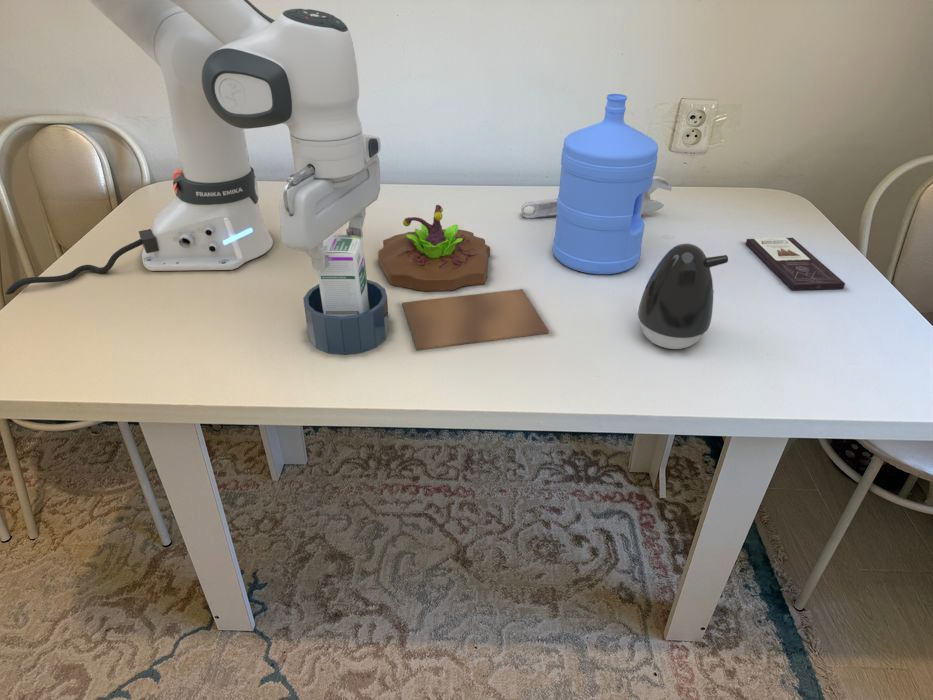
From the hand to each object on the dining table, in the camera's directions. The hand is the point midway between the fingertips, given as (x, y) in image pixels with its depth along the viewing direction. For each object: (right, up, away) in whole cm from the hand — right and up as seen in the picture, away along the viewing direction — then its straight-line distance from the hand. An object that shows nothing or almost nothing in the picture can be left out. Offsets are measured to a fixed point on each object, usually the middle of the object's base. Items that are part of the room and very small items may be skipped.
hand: (338, 253), depth 91 cm
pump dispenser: (+48, -12, +7) cm, 50 cm away
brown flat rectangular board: (+19, -8, +11) cm, 23 cm away
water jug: (+41, +4, +29) cm, 51 cm away
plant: (+12, +2, +26) cm, 29 cm away
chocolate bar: (+76, +2, +27) cm, 80 cm away
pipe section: (0, -11, +7) cm, 13 cm away
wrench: (+44, +14, +44) cm, 64 cm away
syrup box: (0, -11, +8) cm, 13 cm away
